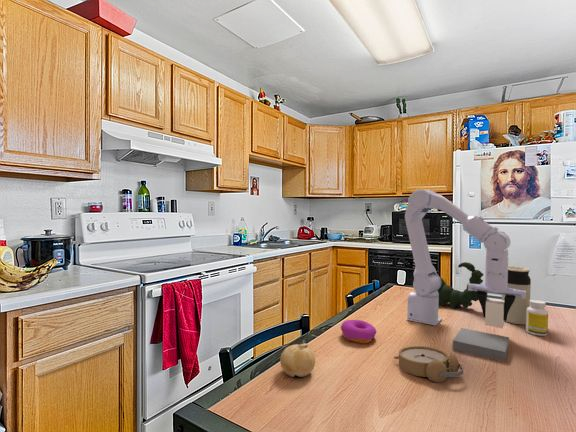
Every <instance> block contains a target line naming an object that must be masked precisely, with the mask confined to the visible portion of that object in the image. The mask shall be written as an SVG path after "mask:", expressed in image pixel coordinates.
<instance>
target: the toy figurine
mask: <svg viewBox="0 0 576 432" xmlns="http://www.w3.org/2000/svg"><path fill="white" fill-rule="evenodd" d="M458 268H459V269H460V268H466V269H467V270H468V271H469V272H470V273H471V275H470V277H469V278H468V279H469V280H468V281H469V283H470V284H483V283H484V280H483V279H482V277H483V276H485V275H484V273H483V272H482V271H481V270H479V269H476V267H475V265H474V264H472V263H471V262H466V261H464V262H461V263H459V265H458ZM438 276H439V275H438ZM439 277H440V279H441V287H440V288H439V289H438V293H439V305H442V306H444V305H445V304H447V303H449V306H450V308H451V309H456V308H457V307H461V306H462V308H464V309H468V307H472V305H473V302H472V301H474V302H479V300H478V298H477V296H476V294H477V291H468V284H469V283H467V284H466V288H465V289H464V290H463V291H460V290H458V289H454V288H453V287H452V286H450V285H448V284H446V282H445V280H444V279H443V278H442V277H441V276H439Z"/></svg>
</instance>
